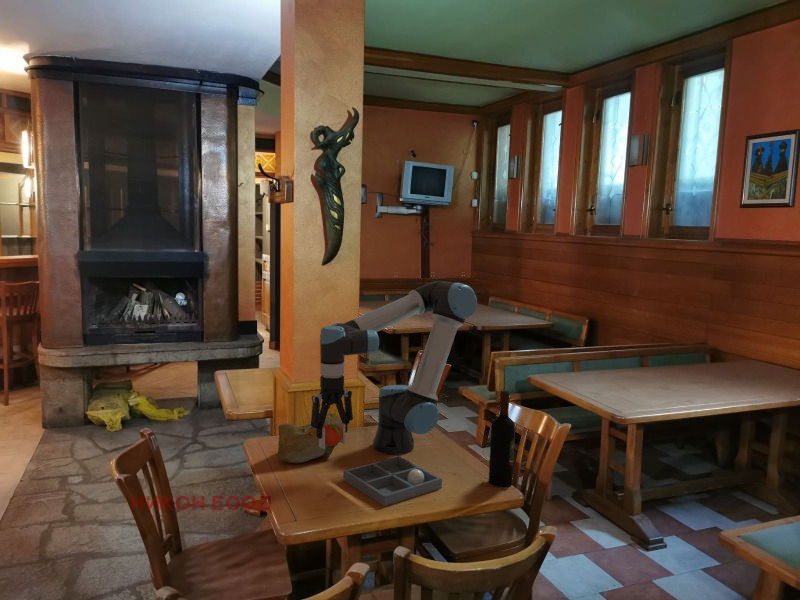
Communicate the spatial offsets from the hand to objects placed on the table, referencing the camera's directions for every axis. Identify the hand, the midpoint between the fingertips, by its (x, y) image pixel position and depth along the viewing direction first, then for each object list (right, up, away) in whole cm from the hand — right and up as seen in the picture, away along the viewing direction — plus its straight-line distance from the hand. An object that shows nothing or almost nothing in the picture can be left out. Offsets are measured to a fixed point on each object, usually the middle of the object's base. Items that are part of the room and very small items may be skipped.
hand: (332, 444), depth 192 cm
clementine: (0, -1, 0) cm, 1 cm away
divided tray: (+19, -12, -5) cm, 23 cm away
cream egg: (+27, -11, -6) cm, 30 cm away
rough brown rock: (-11, -8, +19) cm, 24 cm away
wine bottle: (+54, -12, +1) cm, 56 cm away
